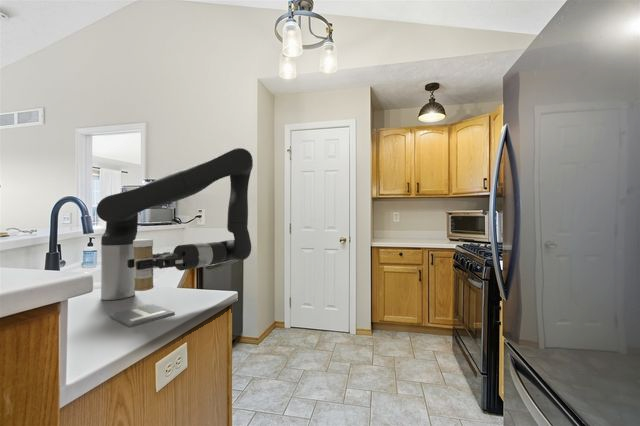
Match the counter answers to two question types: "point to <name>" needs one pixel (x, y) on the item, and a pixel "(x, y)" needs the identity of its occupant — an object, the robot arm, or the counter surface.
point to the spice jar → (140, 253)
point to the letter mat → (141, 315)
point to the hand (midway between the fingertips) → (132, 264)
